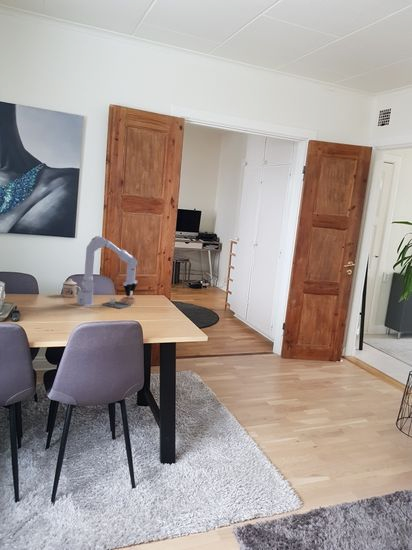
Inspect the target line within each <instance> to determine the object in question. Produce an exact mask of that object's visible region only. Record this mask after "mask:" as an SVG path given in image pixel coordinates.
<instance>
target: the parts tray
mask: <svg viewBox="0 0 412 550" xmlns="http://www.w3.org/2000/svg"><path fill="white" fill-rule="evenodd" d="M109 303H110V301H108V302H104V303H102V304H101V305H102V306H104V307H109V308H115V309H119V310H122V309H125V308H128V307H132V304H127V303H122V302H120V301H116V300H115V305H109Z"/></svg>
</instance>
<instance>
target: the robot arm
mask: <svg viewBox="0 0 412 550" xmlns="http://www.w3.org/2000/svg"><path fill="white" fill-rule="evenodd" d="M90 240H91V241H90V242H89V243H88V244H87V246H86V249H85V250H86V251H85V264H84V274H83V277H82V280H81V283H80V285H81V291H80V292H79V291H78V292H79V293H77V302H76V305H77V306H78V305H79V306H84V307H89V306H92V305H96V303H94V302H93V301H94V300H93V299H94V289H95V283H94V277H93V275H94V264H95V263H94V262H95V252H96V251H97V250H99V249H101V248H104V247H105V248H109V249H110V250H112V251H113V252H114V253H116V254H117V257H118V258H119V259H120V260H122V261H123V262H125V263H126V264H127V265H126V267H127V268H126V278H125V281H124V282H122V286H123V288H124V291H125V297H127V296H129V295H130V290H131V291H133V294H132V296H133V295H134V292H135V289H136V288H137V285H138V280H136V274H137V273H136V271H137V269H136V268H137V265H138V260H137V258H135V257H134V256H133V254H129V253H128V250H126V249H120V248H119V247H118V246H116V245H115V244H114V243H113V242H111V241H110V240H108V239H107V238H104V237H103V236H100V235H97V236H96V235H95V236H94V237H92V239H90Z"/></svg>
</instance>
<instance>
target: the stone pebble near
mask: <svg viewBox="0 0 412 550" xmlns="http://www.w3.org/2000/svg"><path fill="white" fill-rule="evenodd" d="M115 301H116V298H115V297H110V298H109V302H110V303H109V305H115Z"/></svg>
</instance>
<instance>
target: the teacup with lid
mask: <svg viewBox="0 0 412 550" xmlns="http://www.w3.org/2000/svg"><path fill="white" fill-rule="evenodd" d="M62 284H63V285H62V288H63V289H62V296H63V297H65V298H75V297H77V295H78V293H79V292H81V289H82V287H80V286H78V283H77V282H76V281H73V279H72V278H68V280H66V281H64V282H63V283H62ZM77 288H78V292H77Z"/></svg>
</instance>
